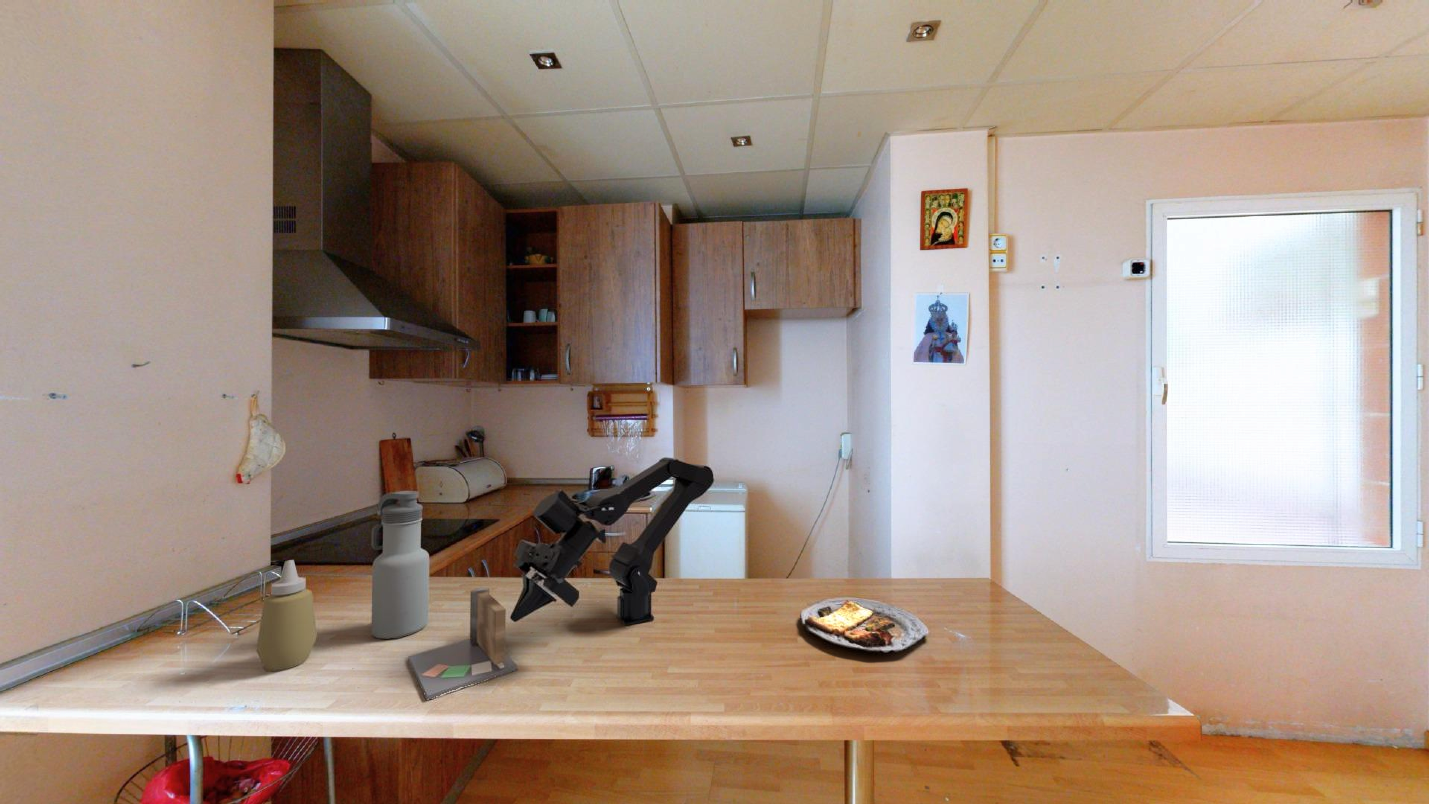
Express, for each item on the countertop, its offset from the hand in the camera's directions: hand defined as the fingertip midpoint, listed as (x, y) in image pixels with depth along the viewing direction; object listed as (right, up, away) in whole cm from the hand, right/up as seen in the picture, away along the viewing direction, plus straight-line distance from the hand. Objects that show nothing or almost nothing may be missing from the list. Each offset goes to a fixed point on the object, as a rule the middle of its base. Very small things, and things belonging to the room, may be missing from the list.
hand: (512, 620), depth 87 cm
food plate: (+67, -8, +11) cm, 68 cm away
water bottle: (-28, -7, +11) cm, 31 cm away
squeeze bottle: (-39, -7, -2) cm, 40 cm away
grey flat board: (-8, -7, -3) cm, 11 cm away
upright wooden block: (-4, -5, -1) cm, 7 cm away
